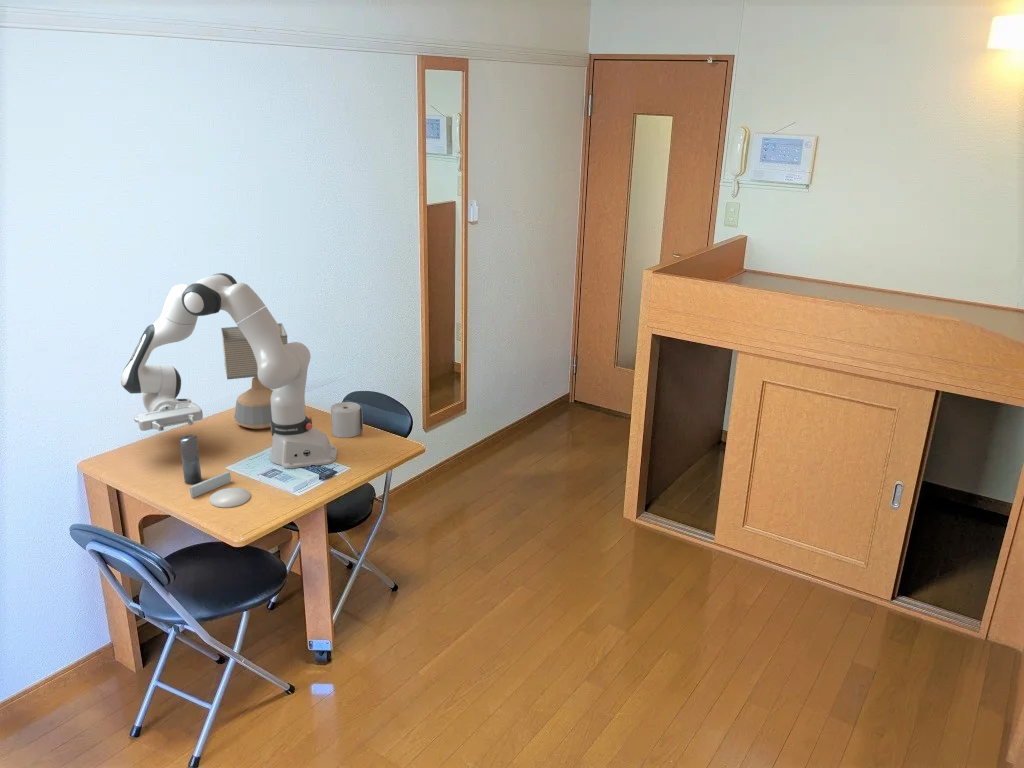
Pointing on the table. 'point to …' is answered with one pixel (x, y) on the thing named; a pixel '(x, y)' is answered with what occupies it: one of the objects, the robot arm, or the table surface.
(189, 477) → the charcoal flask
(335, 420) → the toilet tissue
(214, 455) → the table surface
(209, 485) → the acrylic wall
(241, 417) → the desk lamp
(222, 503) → the resting pad
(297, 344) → the robot arm
